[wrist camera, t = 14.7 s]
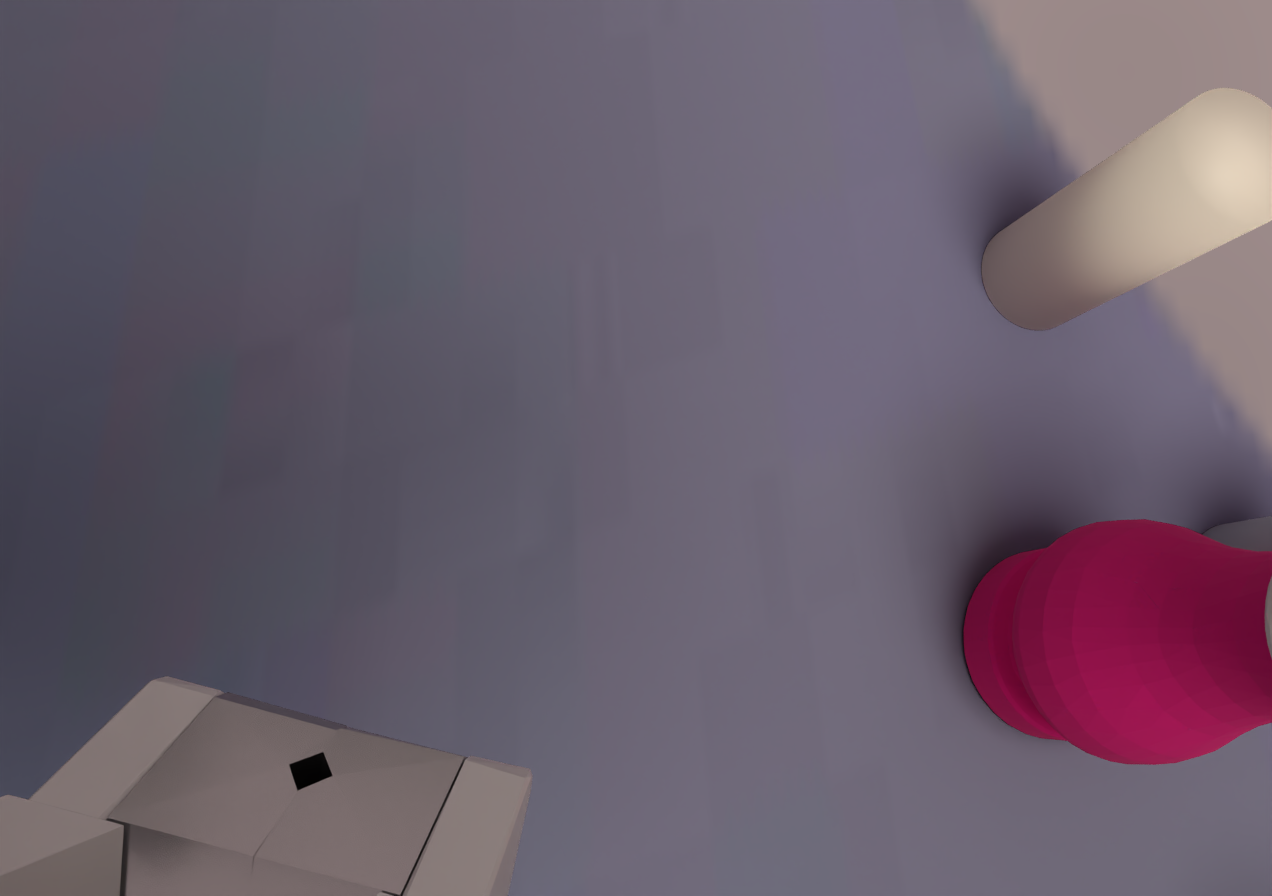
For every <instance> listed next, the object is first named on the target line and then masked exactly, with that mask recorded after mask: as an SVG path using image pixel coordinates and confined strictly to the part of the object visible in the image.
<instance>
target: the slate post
mask: <svg viewBox="0 0 1272 896" xmlns="http://www.w3.org/2000/svg"><path fill="white" fill-rule="evenodd" d="M1202 535H1204V536H1206V537H1208V538H1211V539H1213V540H1215V541H1218V542H1220V543H1222V544H1224V545H1227V546H1230V547H1234V548H1240V549H1246V550H1252V551H1272V516H1268V517H1262V518H1257V519H1251V520H1245V521H1239V522H1233V523H1227V524H1222V525H1217V526H1215V527H1212V528H1210V529H1209V530H1207V531H1206V532H1205V533H1203V534H1202Z"/></svg>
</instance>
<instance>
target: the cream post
mask: <svg viewBox="0 0 1272 896" xmlns="http://www.w3.org/2000/svg"><path fill="white" fill-rule="evenodd" d="M1271 220H1272V108H1271V107H1270V106H1269V105H1267V104H1266V103H1265V102H1264V101H1262V100H1261V99H1259V98H1257V97H1256V96H1254V95H1252V94H1249V93H1247V92H1244V91H1242V90H1238V89H1233V88H1217V89H1213V90H1209V91H1207V92H1205V93H1202V94H1201V95H1199V96H1197V97H1196V98H1194V99H1193V100H1191V101H1190V102H1188V103H1187V104H1186V105H1184V106H1183V107H1181V108H1180V109H1178V110H1177V111H1175V112H1174V113H1172V114H1171V115H1169V116H1168V117H1167V118H1165V119H1164V120H1162V121H1161V122H1159V123H1158V124H1156V125H1155V126H1154V127H1152V128H1151V129H1149V130H1148V131H1146V132H1145V133H1143V134H1142V135H1140V136H1139V137H1138V138H1136V139H1134V140H1133V141H1132V142H1130V143H1129V144H1127V145H1126V146H1124V147H1123V148H1122V149H1120V150H1118V151H1117V152H1115V153H1114V154H1113V155H1111V156H1110V157H1108V158H1107V159H1106V160H1104V161H1102V162H1101V163H1099V164H1098V165H1096V166H1095V167H1094V168H1092V169H1091V170H1089V171H1088V172H1086V173H1085V174H1083V175H1082V176H1080V177H1079V178H1077V179H1076V180H1075V181H1073V182H1072V183H1070V184H1069V185H1067V186H1066V187H1064V188H1063V189H1061V190H1060V191H1059V192H1057V193H1056V194H1054V195H1053V196H1051V197H1050V198H1048V199H1047V200H1045V201H1044V202H1042V203H1041V204H1040V205H1038V206H1037V207H1035V208H1034V209H1032V210H1031V211H1029V212H1028V213H1026V214H1025V215H1023V216H1022V217H1021V218H1019V219H1018V220H1016V221H1015V222H1013V223H1012V224H1010V225H1009V226H1007V227H1006V228H1004V229H1003V230H1002V231H1000V232H999V233H997V234H996V235H995V236H994V237H993V238H992V239H991V241H990V242H989V244H988V245H987V247H986V249H985V252H984V255H983V259H982V266H981V268H982V280H983V284H984V288H985V290H986V293H987V295H988V297H989V299H990V301H991V302H992V304H993V305H994V307H995V308H996V309H997V310H998V311H999V312H1000V313H1001V314H1002V315H1003V316H1004V317H1005V318H1006V319H1008V320H1009V321H1010V322H1012V323H1014V324H1015V325H1018V326H1020V327H1022V328H1026V329H1029V330H1048V329H1051V328H1054V327H1057V326H1059V325H1061V324H1063V323H1065V322H1067V321H1069V320H1071V319H1073V318H1075V317H1077V316H1079V315H1081V314H1083V313H1085V312H1087V311H1089V310H1091V309H1093V308H1095V307H1097V306H1099V305H1101V304H1103V303H1105V302H1107V301H1109V300H1111V299H1113V298H1115V297H1117V296H1119V295H1121V294H1124V293H1126V292H1128V291H1130V290H1132V289H1134V288H1136V287H1138V286H1140V285H1142V284H1144V283H1146V282H1148V281H1150V280H1152V279H1154V278H1156V277H1158V276H1160V275H1162V274H1164V273H1166V272H1168V271H1170V270H1172V269H1174V268H1176V267H1178V266H1180V265H1182V264H1184V263H1186V262H1188V261H1190V260H1192V259H1194V258H1196V257H1198V256H1201V255H1203V254H1205V253H1206V252H1208V251H1211V250H1213V249H1215V248H1217V247H1219V246H1221V245H1223V244H1225V243H1227V242H1229V241H1231V240H1233V239H1235V238H1237V237H1239V236H1241V235H1242V234H1245V233H1247V232H1249V231H1251V230H1253V229H1255V228H1257V227H1259V226H1261V225H1263V224H1265V223H1267V222H1269V221H1271Z"/></svg>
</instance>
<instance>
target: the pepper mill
mask: <svg viewBox="0 0 1272 896" xmlns="http://www.w3.org/2000/svg"><path fill="white" fill-rule="evenodd" d="M964 653H965V657H966V661H967V665H968V668H969V672H970V675H971V678H972V680H973V682H974V684H975V686H976V688H977V690H978V691H979V693H980V695H981V696H982V698H983V699H984V701H985V702H986V703H987V704H988V706H989V707H990V708H991V709H992V710H993V712H994V713H995V714H996V715H998V716H999V717H1000V718H1001V719H1002V720H1003V721H1005V722H1006V723H1007V724H1008V725H1010V726H1012V727H1014V728H1016V729H1018V730H1019V731H1021V732H1023V733H1025V734H1028V735H1031V736H1035V737H1038V738H1044V739H1055V740H1065V741H1069V742H1070V743H1071V744H1073V745H1074V746H1076V747H1078V748H1080V749H1081V750H1083V751H1085V752H1086V753H1089V754H1091V755H1094V756H1097V757H1100V758H1102V759H1105V760H1108V761H1112V762H1118V763H1124V764H1153V765H1155V764H1168V763H1177V762H1181V761H1184V760H1188V759H1191V758H1195V757H1198V756H1201V755H1204V754H1207V753H1210V752H1213V751H1216V750H1217V749H1219V748H1221V747H1222V746H1224V745H1226V744H1227V743H1229V742H1231V741H1232V740H1234V739H1235V738H1237V737H1238V736H1240V735H1241V734H1243V733H1245V732H1247V731H1250V730H1252V729H1254V728H1256V727H1258V726H1261V725H1264V724H1268V723H1272V551H1252V550H1246V549H1240V548H1234V547H1230V546H1227V545H1224V544H1222V543H1220V542H1218V541H1215V540H1213V539H1211V538H1208V537H1206V536H1204V535H1202V534H1199V533H1197V532H1195V531H1193V530H1190V529H1188V528H1185V527H1181V526H1177V525H1173V524H1167V523H1162V522H1157V521H1151V520H1146V519H1141V520H1117V521H1105V522H1096V523H1092V524H1089V525H1086V526H1083V527H1079V528H1077V529H1075V530H1072V531H1070V532H1069V533H1067V534H1065V535H1063V536H1061V537H1060V538H1058V539H1057V540H1056V541H1055V542H1053V543H1052V544H1051V545H1050V546H1049V547H1048V548H1043V549H1037V550H1032V551H1026V552H1022V553H1019V554H1016V555H1013V556H1010V557H1008V558H1006V559H1004V560H1003V561H1001V562H1000V563H998V564H997V565H995V566H994V567H993V568H992V569H991V570H990V571H989V572H988V573H987V574H986V575H985V576H984V578H983V579H982V580H981V582H980V583H979V584H978V586H977V588H976V589H975V591H974V593H973V595H972V598H971V600H970V602H969V605H968V608H967V613H966V617H965V624H964Z"/></svg>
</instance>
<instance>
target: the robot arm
mask: <svg viewBox="0 0 1272 896" xmlns="http://www.w3.org/2000/svg"><path fill="white" fill-rule="evenodd" d="M532 777H533V776H532V773H531V770H530V769H528V768H524V767H519V766H515V765H510V764H506V763H501V762H497V761H493V760H488V759H484V758H479V757H475V756H470V757H465V756H461V755H457V754H453V753H449V752H445V751H441V750H437V749H433V748H429V747H425V746H421V745H417V744H413V743H409V742H405V741H401V740H397V739H393V738H389V737H386V736H382V735H378V734H374V733H370V732H366V731H362V730H358V729H354V728H350V727H347V726H346V725H343V724H339V723H336V722H332V721H329V720H325V719H322V718H318V717H314V716H311V715H307V714H304V713H300V712H297V711H293V710H290V709H286V708H283V707H279V706H275V705H272V704H268V703H265V702H261V701H258V700H254V699H251V698H247V697H243V696H240V695H236V694H233V693H229V692H227V693H223V692H222V691H220V690H217V689H213V688H209V687H206V686H202V685H198V684H194V683H191V682H187V681H183V680H179V679H175V678H172V677H168V676H165V677H162V678H158V679H154V680H152V681H150V682H149V683H147V684H146V685H145V686H144V687H143V688H142V689H141V690H140V691H139V692H138V693H137V694H136V695H135V696H134V697H133V698H132V699H131V700H130V701H129V702H128V703H127V704H126V705H125V706H124V707H123V708H122V709H121V710H120V711H119V712H117V713H116V714H115V715H114V716H113V717H112V718H111V719H110V720H109V721H108V722H107V723H106V724H105V725H104V726H103V727H102V728H101V729H100V730H99V731H98V732H97V733H96V734H95V735H94V736H93V737H92V738H91V739H90V740H89V741H88V742H87V743H86V744H85V745H84V746H83V747H81V748H80V749H79V750H78V751H77V752H76V753H75V754H74V755H73V756H72V757H71V758H70V759H69V760H68V761H67V762H66V763H65V764H64V765H63V766H62V767H61V768H60V769H59V770H58V771H57V772H56V773H55V774H54V775H53V776H52V777H51V778H50V779H49V780H48V781H47V782H45V783H44V784H43V785H42V786H41V787H40V788H39V789H38V790H37V791H36V792H35V793H34V794H33V795H32V796H31V797H30V798H29V799H28V800H27V799H23V798H19V797H15V796H11V795H6V796H3V797H0V896H508V892H509V888H510V883H511V879H512V874H513V869H514V865H515V860H516V856H517V851H518V847H519V842H520V837H521V833H522V828H523V824H524V819H525V814H526V810H527V805H528V801H529V796H530V792H531V785H532Z"/></svg>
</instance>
